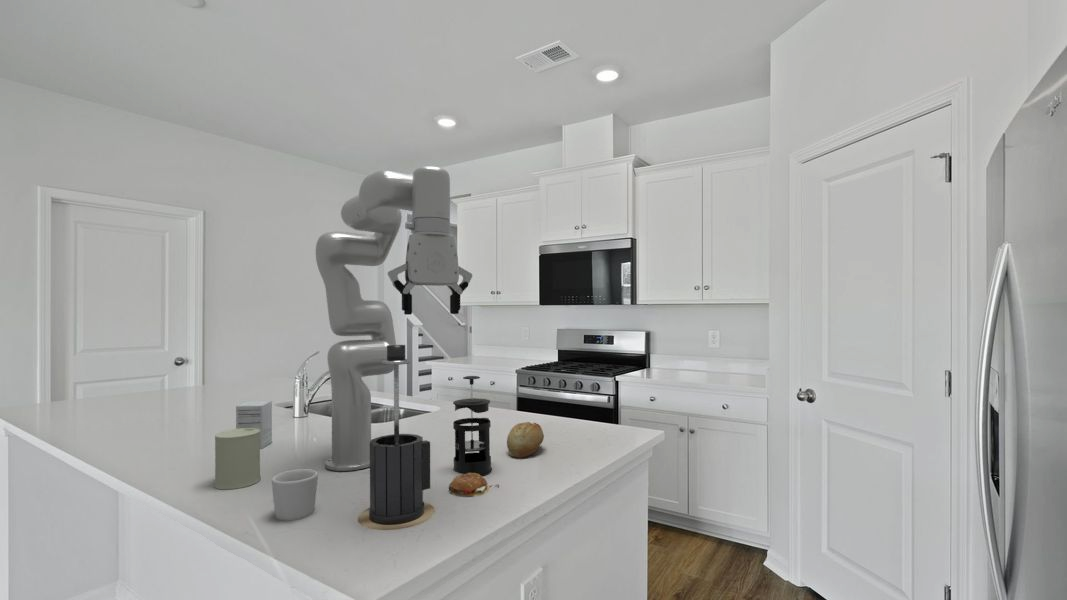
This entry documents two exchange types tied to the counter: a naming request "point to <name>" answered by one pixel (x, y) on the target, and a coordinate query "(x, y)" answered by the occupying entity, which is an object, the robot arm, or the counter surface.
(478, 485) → the hamburger
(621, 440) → the counter surface
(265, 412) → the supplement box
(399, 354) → the plunger
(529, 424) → the bread roll
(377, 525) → the trivet
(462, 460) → the french press
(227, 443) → the can
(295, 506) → the cup
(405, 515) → the dark slatted tankard
